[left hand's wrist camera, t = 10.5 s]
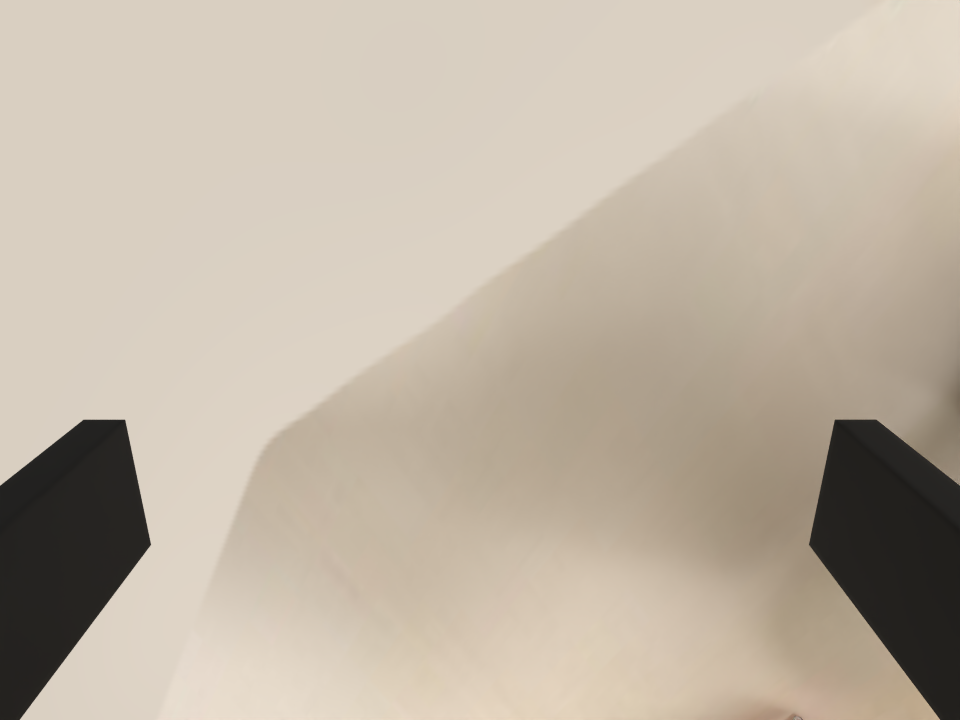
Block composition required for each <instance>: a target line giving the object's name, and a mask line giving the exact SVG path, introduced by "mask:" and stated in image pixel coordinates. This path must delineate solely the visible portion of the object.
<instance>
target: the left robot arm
mask: <svg viewBox="0 0 960 720" xmlns="http://www.w3.org/2000/svg"><path fill="white" fill-rule="evenodd" d="M150 545H151V543H150V538H149V533H148V528H147V523H146V518H145V514H144V509H143V504H142V499H141V494H140V489H139V485H138V480H137V475H136V470H135V465H134V460H133V456H132V451H131V446H130V441H129V436H128V431H127V427H126V422H125V420H83V421H82V422H80V423H79V424H78V425H77V426H75V427H74V428H73V429H71V430H70V431H69V432H68V433H66V434H65V435H64V436H63V437H61V438H60V439H59V440H57V441H56V442H55V443H54V444H52V445H51V446H50V447H49V448H47V449H46V450H45V451H44V452H42V453H41V454H40V455H39V456H37V457H36V458H35V459H33V460H32V461H31V462H30V463H29V464H27V465H26V466H25V467H23V468H22V469H21V470H20V471H18V472H17V473H16V474H15V475H13V476H12V477H11V478H9V479H8V480H7V481H6V482H4V483H3V484H2V485H1V486H0V720H20V719H21V717H22V716H23V714H24V713H25V712H26V710H27V709H28V708H29V707H30V705H31V704H32V702H33V701H34V700H35V699H36V697H37V696H38V695H39V693H40V692H41V691H42V689H43V688H44V687H45V685H46V684H47V682H48V681H49V680H50V679H51V677H52V676H53V675H54V673H55V672H56V671H57V669H58V668H59V667H60V665H61V664H62V663H63V661H64V660H65V659H66V657H67V656H68V654H69V653H70V652H71V651H72V649H73V648H74V647H75V645H76V644H77V642H78V641H79V640H80V639H81V637H82V636H83V635H84V633H85V632H86V631H87V629H88V628H89V627H90V625H91V624H92V622H93V621H94V620H95V619H96V617H97V616H98V615H99V613H100V612H101V611H102V609H103V608H104V607H105V605H106V604H107V603H108V601H109V600H110V599H111V597H112V596H113V595H114V593H115V592H116V591H117V589H118V588H119V587H120V585H121V584H122V583H123V581H124V580H125V579H126V577H127V576H128V575H129V573H130V572H131V571H132V569H133V568H134V567H135V565H136V564H137V563H138V561H139V560H140V559H141V557H142V556H143V555H144V553H145V552H146V551H147V549H148V548H149V547H150ZM809 545H810V547H811V548H812V549H813V551H814V552H815V553H816V555H817V556H818V557H819V559H820V560H821V561H822V563H823V564H824V565H825V567H826V568H827V569H828V571H829V572H830V573H831V575H832V576H833V577H834V579H835V580H836V581H837V583H838V584H839V585H840V587H841V588H842V589H843V591H844V592H845V593H846V595H847V596H848V597H849V599H850V600H851V601H852V603H853V604H854V605H855V607H856V608H857V609H858V611H859V612H860V613H861V615H862V616H863V617H864V619H865V620H866V621H867V623H868V624H869V625H870V627H871V628H872V629H873V631H874V632H875V633H876V635H877V636H878V637H879V639H880V640H881V641H882V643H883V644H884V645H885V647H886V648H887V649H888V651H889V652H890V653H891V655H892V656H893V657H894V659H895V660H896V661H897V663H898V664H899V665H900V667H901V668H902V669H903V671H904V672H905V673H906V675H907V676H908V677H909V679H910V680H911V681H912V683H913V684H914V685H915V687H916V688H917V689H918V691H919V692H920V693H921V695H922V696H923V697H924V699H925V700H926V701H927V703H928V704H929V705H930V707H931V708H932V709H933V711H934V712H935V713H936V715H937V716H938V717H939V719H940V720H960V486H959V485H958V484H957V483H956V482H954V481H953V480H952V479H951V478H949V477H948V476H947V475H945V474H944V473H943V472H942V471H940V470H939V469H938V468H937V467H935V466H934V465H933V464H932V463H930V462H929V461H928V460H927V459H925V458H924V457H923V456H921V455H920V454H919V453H918V452H916V451H915V450H914V449H913V448H911V447H910V446H909V445H908V444H906V443H905V442H904V441H903V440H901V439H900V438H899V437H897V436H896V435H895V434H894V433H892V432H891V431H890V430H889V429H887V428H886V427H885V426H884V425H882V424H881V423H880V422H878V421H877V420H835V422H834V427H833V431H832V436H831V441H830V446H829V451H828V456H827V460H826V465H825V470H824V475H823V480H822V485H821V489H820V494H819V499H818V504H817V509H816V514H815V518H814V523H813V528H812V533H811V538H810V543H809Z"/></svg>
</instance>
